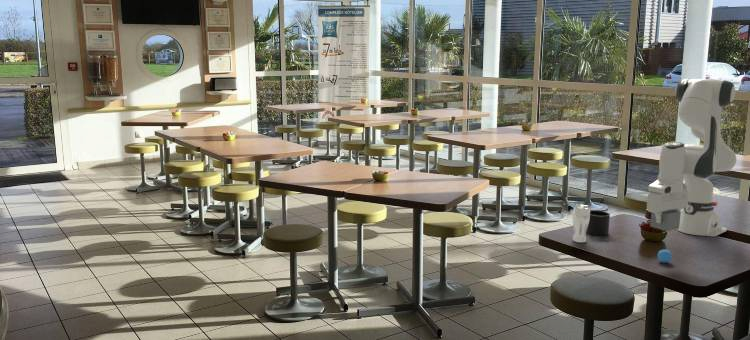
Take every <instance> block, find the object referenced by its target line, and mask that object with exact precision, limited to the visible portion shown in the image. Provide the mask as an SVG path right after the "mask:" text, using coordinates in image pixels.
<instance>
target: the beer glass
mask: <svg viewBox="0 0 750 340" xmlns="http://www.w3.org/2000/svg"><path fill="white" fill-rule="evenodd" d="M572 211H573V212H572V227H573V235H572V239H571V241H572V242H575V243H578V244H584V243H585V242H586V243H587V242H588V237H587V236H588V235H587V234H588V233H587V229H588V225H589V221H590V211H591V206H589V205H586V204H575V205H573V210H572Z"/></svg>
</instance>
